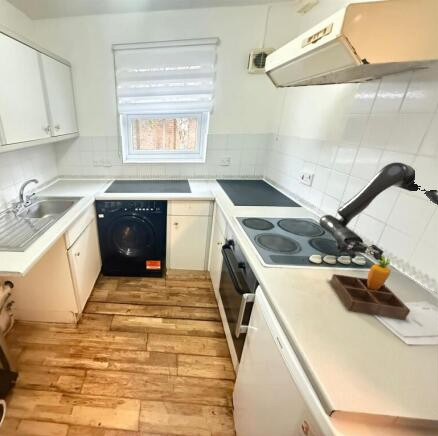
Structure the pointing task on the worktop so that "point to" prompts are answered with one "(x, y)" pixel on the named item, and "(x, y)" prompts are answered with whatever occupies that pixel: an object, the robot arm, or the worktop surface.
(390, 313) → the grid
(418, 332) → the worktop surface
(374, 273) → the carrot
